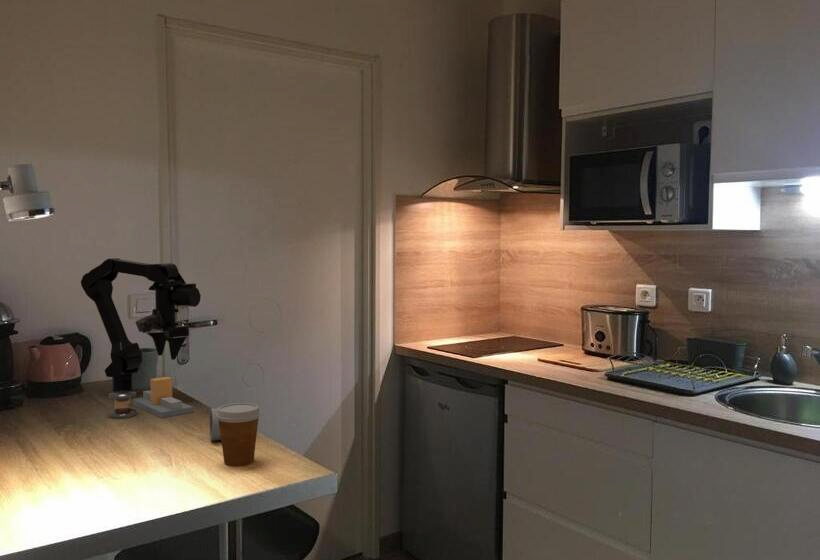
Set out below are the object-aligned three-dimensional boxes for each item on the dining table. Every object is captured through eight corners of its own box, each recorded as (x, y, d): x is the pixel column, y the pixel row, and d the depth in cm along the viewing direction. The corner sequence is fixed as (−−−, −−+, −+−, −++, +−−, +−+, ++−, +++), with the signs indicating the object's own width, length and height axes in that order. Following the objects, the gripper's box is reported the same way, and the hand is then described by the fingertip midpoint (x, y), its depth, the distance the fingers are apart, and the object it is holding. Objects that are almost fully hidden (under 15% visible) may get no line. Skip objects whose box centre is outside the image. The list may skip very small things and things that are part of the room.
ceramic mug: (247, 441, 169) (246, 409, 168) (212, 444, 166) (211, 412, 165) (240, 430, 179) (240, 400, 178) (207, 433, 175) (206, 403, 175)
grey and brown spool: (105, 414, 192) (104, 393, 192) (130, 410, 197) (130, 389, 196) (114, 419, 187) (114, 397, 186) (140, 415, 192) (140, 393, 191)
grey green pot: (152, 381, 234) (151, 346, 233) (163, 387, 226) (163, 350, 225) (121, 386, 227) (120, 349, 226) (131, 391, 220) (131, 353, 219)
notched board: (132, 404, 204) (132, 392, 203) (162, 399, 210) (162, 387, 209) (161, 417, 189) (161, 405, 189) (192, 412, 195) (192, 399, 195)
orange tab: (150, 403, 198) (150, 379, 198) (167, 400, 202) (167, 376, 201) (155, 405, 196) (154, 380, 196) (172, 402, 200) (172, 378, 199)
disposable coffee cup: (213, 458, 156) (212, 404, 155) (255, 452, 160) (255, 400, 159) (220, 471, 147) (219, 415, 146) (265, 465, 151) (265, 410, 150)
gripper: (126, 304, 210) (127, 356, 211) (152, 310, 196) (153, 365, 197) (162, 302, 218) (163, 352, 219) (189, 307, 204) (190, 360, 205)
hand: (166, 357), depth 210 cm, fingers open, 9 cm apart
